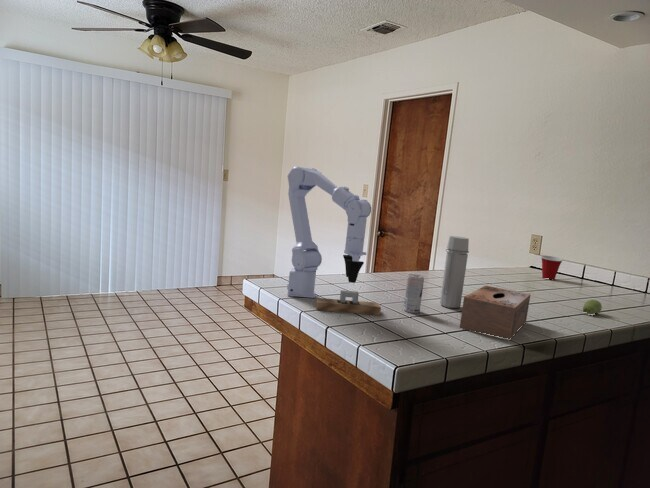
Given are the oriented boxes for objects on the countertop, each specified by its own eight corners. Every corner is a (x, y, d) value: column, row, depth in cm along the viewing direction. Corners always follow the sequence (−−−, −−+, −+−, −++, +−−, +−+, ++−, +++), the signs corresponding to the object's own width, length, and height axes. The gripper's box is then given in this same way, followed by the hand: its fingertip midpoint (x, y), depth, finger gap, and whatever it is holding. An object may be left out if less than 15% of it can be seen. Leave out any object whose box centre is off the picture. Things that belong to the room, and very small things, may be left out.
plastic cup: (540, 279, 238) (544, 257, 237) (534, 275, 249) (538, 254, 247) (562, 282, 237) (566, 260, 235) (555, 278, 247) (559, 257, 246)
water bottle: (445, 302, 167) (454, 235, 164) (464, 307, 162) (474, 239, 158) (432, 305, 161) (441, 236, 157) (451, 311, 155) (461, 239, 152)
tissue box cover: (509, 342, 128) (514, 308, 127) (459, 329, 136) (464, 296, 135) (525, 323, 150) (530, 294, 149) (481, 313, 158) (485, 285, 156)
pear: (605, 300, 172) (595, 307, 166) (603, 313, 174) (594, 320, 167) (589, 296, 176) (579, 303, 170) (587, 309, 178) (577, 316, 171)
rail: (316, 309, 140) (317, 302, 140) (316, 305, 146) (316, 297, 145) (380, 315, 142) (381, 307, 141) (377, 310, 147) (378, 302, 147)
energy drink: (420, 310, 152) (425, 275, 150) (418, 314, 147) (423, 278, 145) (404, 307, 153) (409, 273, 152) (402, 311, 148) (406, 275, 147)
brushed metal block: (339, 310, 142) (341, 292, 141) (338, 308, 145) (340, 290, 144) (356, 311, 143) (358, 293, 142) (355, 309, 145) (357, 291, 144)
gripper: (371, 242, 136) (366, 285, 138) (364, 236, 150) (360, 275, 152) (348, 239, 135) (343, 283, 137) (343, 234, 150) (339, 273, 152)
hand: (350, 279), depth 145 cm, fingers open, 7 cm apart
